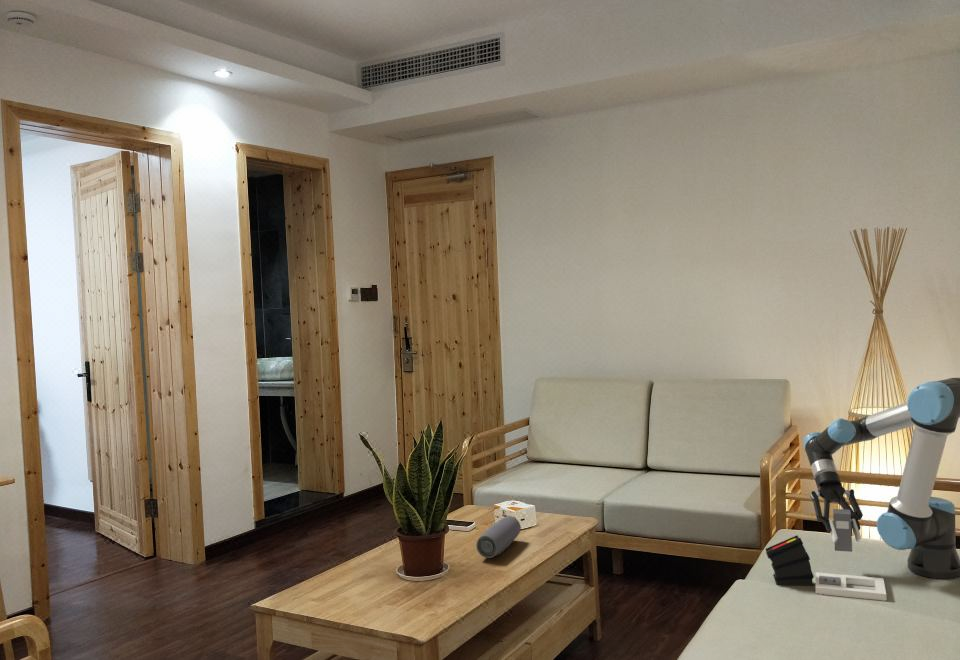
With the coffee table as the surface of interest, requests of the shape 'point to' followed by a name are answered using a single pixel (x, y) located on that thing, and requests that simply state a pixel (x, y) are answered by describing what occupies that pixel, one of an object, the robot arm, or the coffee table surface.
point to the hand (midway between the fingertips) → (847, 539)
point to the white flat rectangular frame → (837, 587)
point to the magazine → (790, 562)
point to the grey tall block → (843, 529)
